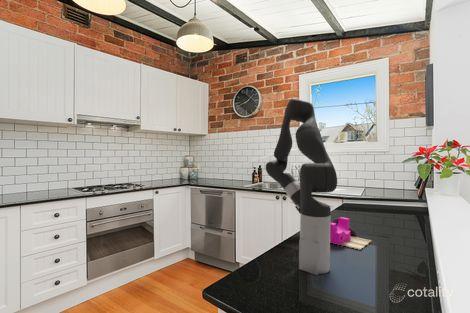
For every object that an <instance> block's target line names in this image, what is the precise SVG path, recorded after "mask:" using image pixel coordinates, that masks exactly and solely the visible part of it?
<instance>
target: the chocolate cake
mask: <svg viewBox="0 0 470 313" xmlns="http://www.w3.org/2000/svg"><path fill="white" fill-rule="evenodd" d="M338 221H339V217H337V216H335V217H334V219H333V221H332V222H331V223H336V225H338ZM349 231H350V236H353V237H358V234H357V233H356V231H355V230H354V229H353V228H351V227H350V226H349Z"/></svg>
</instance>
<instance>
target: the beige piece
mask: <svg viewBox="0 0 470 313" xmlns="http://www.w3.org/2000/svg"><path fill="white" fill-rule="evenodd" d="M372 242H373V240H371V239H366V238H361V237H358V236H355V237H353V236H350V240H348V241H346V242H344V243H342V244H340V245H343V246H346V247H345V248H347V247H350V248H349V249H351V248H354V249H353V250H355V249H358V250H357V251H359V250H361V249H362V248H363V249H365V248H366V247H367V246H368V245H369V243H370V244H371V243H372ZM366 245H367V246H366ZM343 246H342V247H343ZM365 246H366V247H365ZM363 249H362V250H363ZM362 250H361V251H362Z"/></svg>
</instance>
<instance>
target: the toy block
mask: <svg viewBox="0 0 470 313" xmlns="http://www.w3.org/2000/svg"><path fill="white" fill-rule="evenodd" d="M338 219H339V221H338V225H336V223H332V222H331V224H330V243H333V244H332V245H334V244H337V245H336V246H339V245H340V244H342V243H344V242H346V241H348V240H350V234H351V233H350V231H349V227H350V218H349V217H343V216H340V217H338Z"/></svg>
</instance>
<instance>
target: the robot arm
mask: <svg viewBox="0 0 470 313" xmlns="http://www.w3.org/2000/svg"><path fill="white" fill-rule="evenodd" d="M283 114H284V115H283V120H282V125H281V128H280V133H279V137H278V140H277V144H276V146H275V149H274V151H273V156H274V158H275V159H273V160H270V161H268V162H267V163H266V164H265V171H266V173H267V175H268V176H270V177H271V179H273V180H275V182H277V183H278V184H279V185H280V186H281V187H282V188H283V190H284V191H285V193H286V195H287V196H288V197H289V199H290V200H291V201H292V203H293V204H294V205H295V206H294V207H295V209H296V211H298V213H299V216H300V217H299V220H300V221H299V226H300V227H299V240H298V243H299V244H298V251H299V252H298V269H299V270H300V271H304V272H307V273H310V274H312V275H315V276H318V275H320V274H321V275H322V274H327V273H329V272H330V270H331V267H330V266H331V244H330V224H331V223H332V222H331V220H332V219H331V217H332V216H331V214H332V212H331V211H332V210H331V206H330V204H327V203H325V202H322V201H319V200H317V199H316V198H314V197H313V195H312V194H313V193H314V194H315V193H318V194H319V193H321V194H322V193H325V194H326V193H332V192H334V191H335V190H336V189H337V186H338V176H337V172H336V169H335V167H334V166H335V165H333V162H332V160H331V158H330V156H329V154H328V152H327V150H326V146H325V144H324V141H323V138H322V135H321V134H322V133H321V132H320V129H319V126H318V123H317V119H316V115H315V109H314V105H313V104H312V102H311V101H307V100H303V99H298V98H291V99H289V100H288V102H287V105H286V107H285V111H284V113H283ZM291 121H294V122H299V123H301V125H300V126H299V127H298V128H297V130H296V132H295V141H296V145H297V146H296V147H297V149H298V151H299V152H300V153H301V154H302V155H304V156H305V157H306V158H308V159H309V160H310V161H311V163H310V162H309V163H307V162H305V163H303V164H302V165H301V166H300V169H299V182H298V181H297V180H296V178H295V177H293V175H292V174H291V173H290V172H289V173H288V172H285V171H286V169H287V168H288V158H289V155H290V153H291V150H292V148H293V137H292V134H291V129H290V128H291V127H290V124H291ZM312 162H313V163H312Z"/></svg>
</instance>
